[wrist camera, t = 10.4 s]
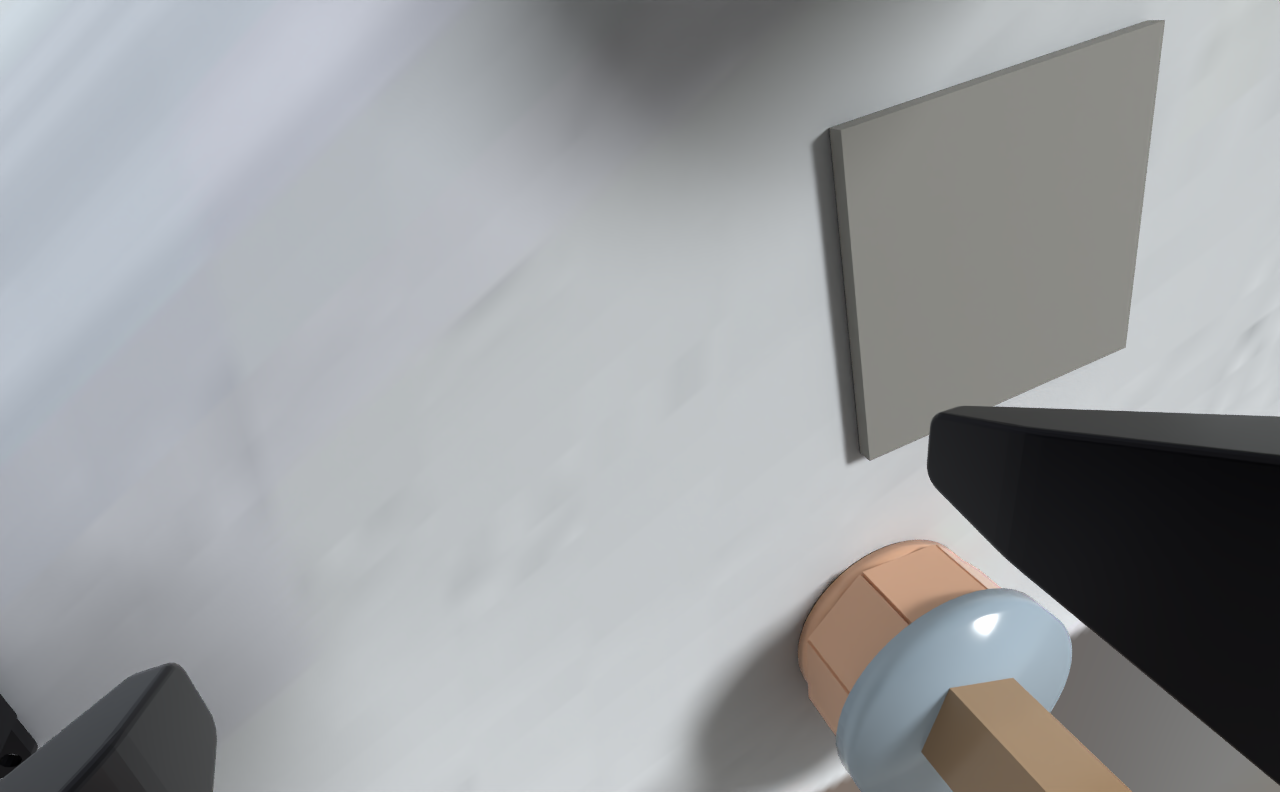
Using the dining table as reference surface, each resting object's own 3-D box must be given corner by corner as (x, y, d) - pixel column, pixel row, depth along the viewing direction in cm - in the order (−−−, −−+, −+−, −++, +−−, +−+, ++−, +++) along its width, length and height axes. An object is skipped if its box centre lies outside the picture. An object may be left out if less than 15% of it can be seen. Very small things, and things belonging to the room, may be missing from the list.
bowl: (800, 722, 33) (851, 799, 30) (794, 581, 29) (853, 651, 26) (956, 654, 36) (1020, 719, 32) (971, 514, 31) (1047, 571, 28)
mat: (860, 452, 28) (869, 460, 27) (829, 128, 22) (841, 130, 21) (1112, 342, 30) (1125, 347, 29) (1147, 20, 24) (1164, 20, 23)
